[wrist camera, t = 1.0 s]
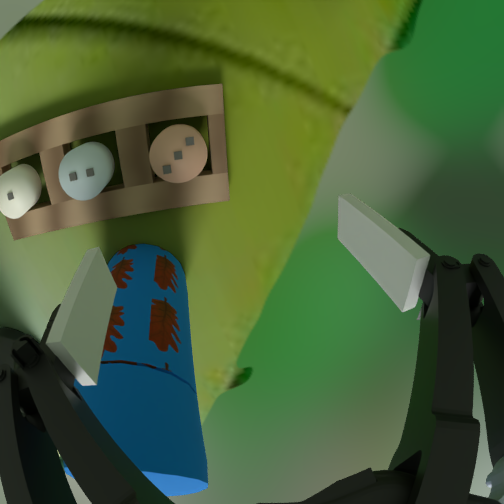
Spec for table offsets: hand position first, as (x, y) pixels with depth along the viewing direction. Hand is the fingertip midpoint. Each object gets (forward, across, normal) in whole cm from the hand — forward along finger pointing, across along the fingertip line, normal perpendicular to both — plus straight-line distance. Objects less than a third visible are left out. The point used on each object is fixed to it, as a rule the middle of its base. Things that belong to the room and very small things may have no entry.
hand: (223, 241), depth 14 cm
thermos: (+17, -10, -12) cm, 23 cm away
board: (+16, -11, +4) cm, 20 cm away
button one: (+14, -20, +4) cm, 25 cm away
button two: (+14, -11, +3) cm, 18 cm away
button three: (+14, -2, +3) cm, 15 cm away
